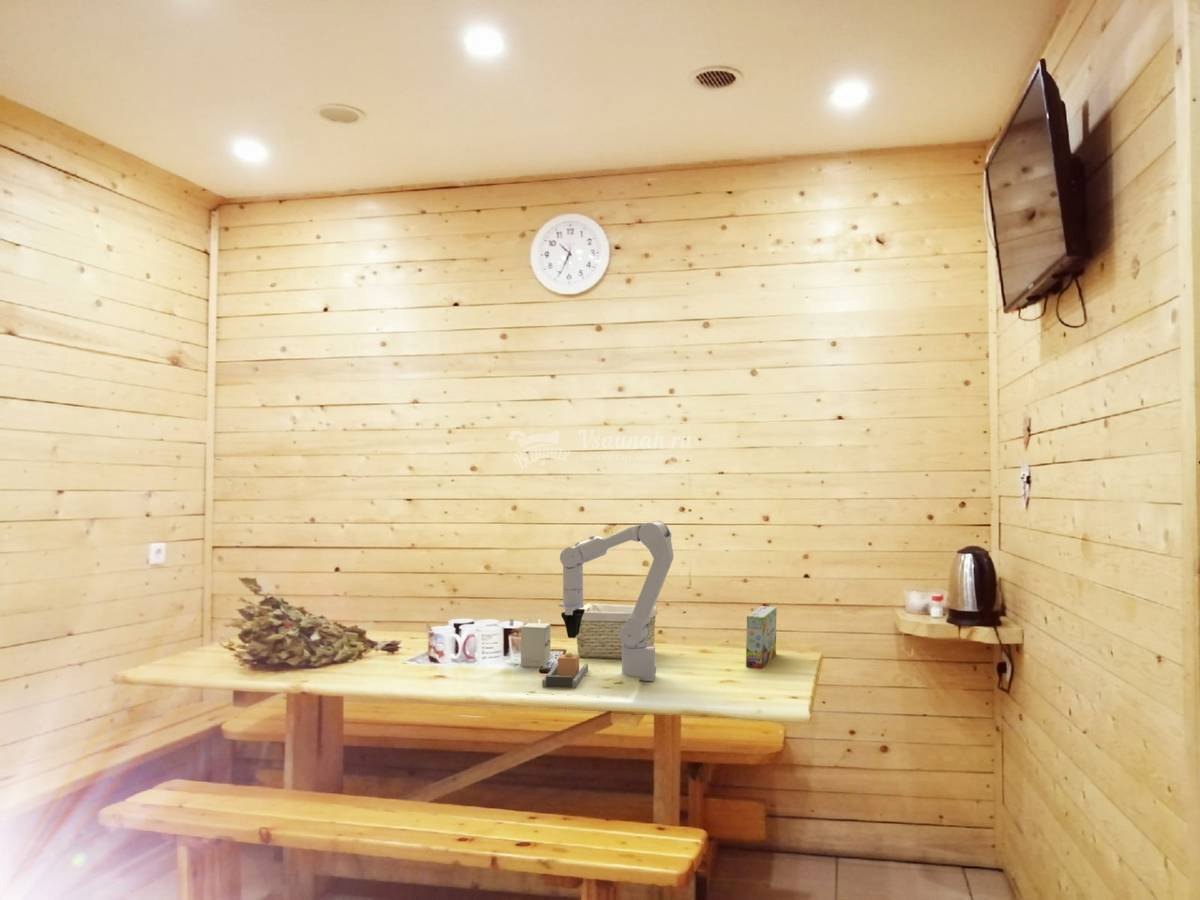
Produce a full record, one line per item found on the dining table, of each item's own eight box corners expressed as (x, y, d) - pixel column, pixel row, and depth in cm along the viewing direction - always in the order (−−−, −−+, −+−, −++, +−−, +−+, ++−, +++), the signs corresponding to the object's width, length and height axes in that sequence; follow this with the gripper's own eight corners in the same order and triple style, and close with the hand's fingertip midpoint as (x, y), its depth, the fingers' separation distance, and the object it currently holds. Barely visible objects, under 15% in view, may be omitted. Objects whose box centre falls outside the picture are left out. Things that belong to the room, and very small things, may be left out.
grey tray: (593, 674, 242) (593, 660, 242) (581, 693, 222) (581, 677, 223) (551, 673, 244) (551, 659, 244) (536, 691, 224) (536, 676, 224)
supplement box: (544, 671, 246) (544, 627, 247) (520, 670, 248) (519, 626, 248) (551, 665, 254) (551, 623, 254) (527, 664, 255) (527, 622, 255)
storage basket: (571, 658, 264) (571, 610, 265) (586, 647, 280) (586, 602, 280) (647, 662, 258) (647, 613, 258) (658, 651, 274) (658, 604, 274)
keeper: (579, 672, 239) (579, 651, 239) (576, 676, 234) (575, 655, 235) (561, 672, 240) (561, 651, 240) (558, 676, 235) (558, 655, 235)
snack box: (764, 669, 248) (764, 617, 249) (745, 667, 250) (744, 615, 251) (777, 654, 268) (777, 606, 268) (759, 653, 270) (759, 605, 270)
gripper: (564, 585, 253) (564, 631, 253) (554, 592, 239) (554, 640, 238) (587, 585, 252) (587, 631, 252) (579, 592, 238) (579, 641, 237)
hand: (573, 636), depth 245 cm, fingers open, 4 cm apart
